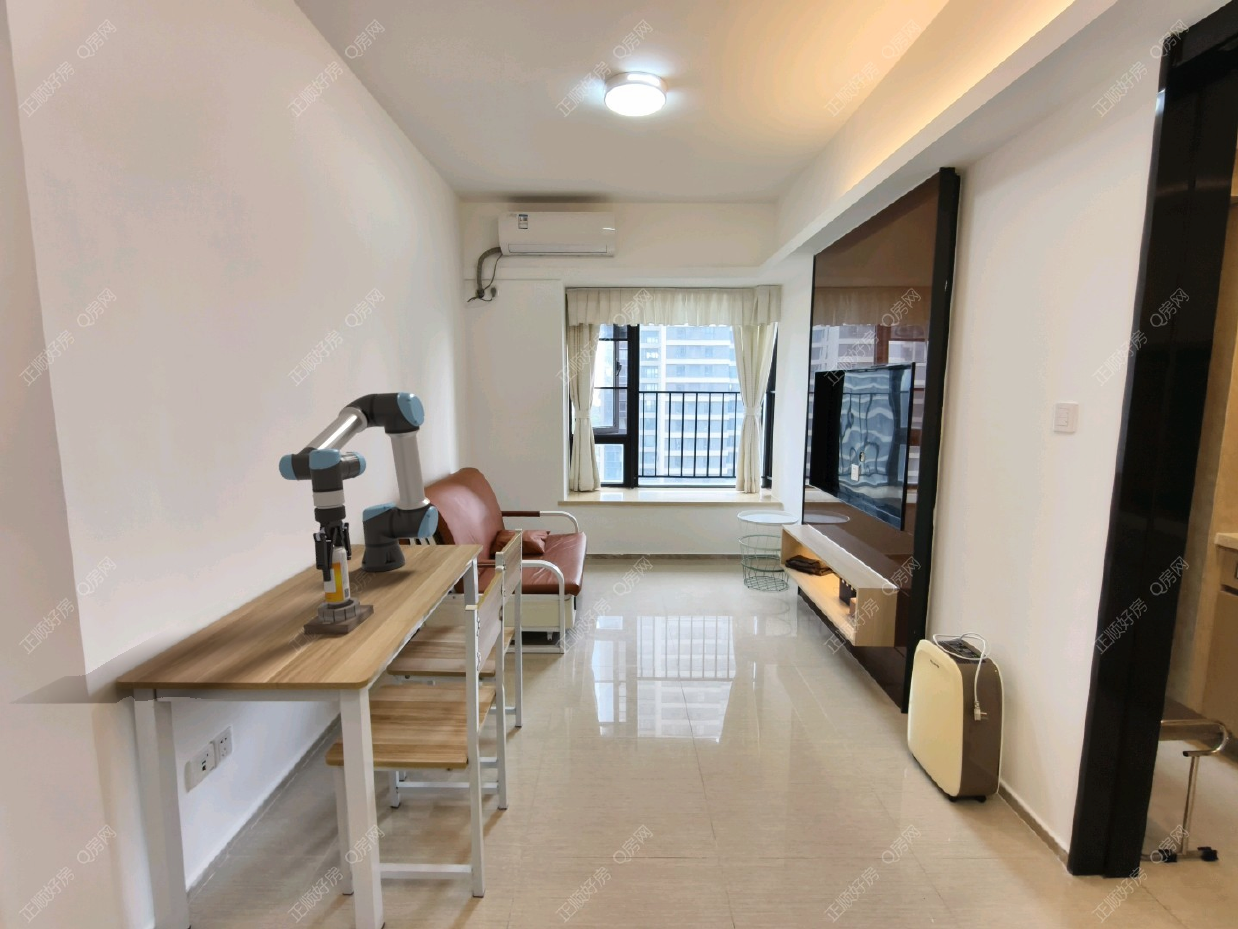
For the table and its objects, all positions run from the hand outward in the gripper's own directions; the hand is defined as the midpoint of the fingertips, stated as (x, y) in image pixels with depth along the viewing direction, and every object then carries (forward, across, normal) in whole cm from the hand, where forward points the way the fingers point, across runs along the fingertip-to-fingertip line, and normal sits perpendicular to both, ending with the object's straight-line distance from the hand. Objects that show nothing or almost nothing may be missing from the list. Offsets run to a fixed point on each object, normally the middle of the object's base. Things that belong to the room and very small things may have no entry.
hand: (337, 587), depth 152 cm
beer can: (+4, 0, 0) cm, 4 cm away
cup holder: (+10, 0, 0) cm, 10 cm away
